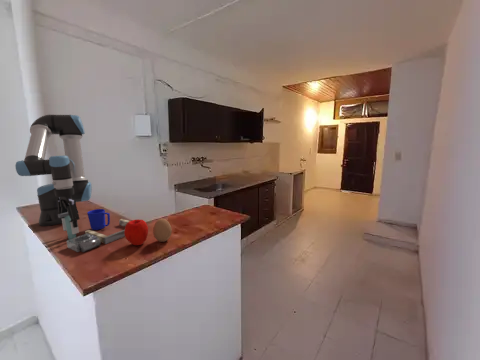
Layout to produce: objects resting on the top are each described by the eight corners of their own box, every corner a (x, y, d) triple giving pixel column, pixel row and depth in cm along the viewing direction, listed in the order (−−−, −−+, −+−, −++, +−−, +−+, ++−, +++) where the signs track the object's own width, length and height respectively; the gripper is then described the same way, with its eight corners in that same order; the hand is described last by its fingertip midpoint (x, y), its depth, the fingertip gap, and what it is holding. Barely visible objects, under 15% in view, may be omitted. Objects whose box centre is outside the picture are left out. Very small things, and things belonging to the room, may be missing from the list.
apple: (125, 251, 101) (122, 224, 98) (126, 242, 110) (123, 217, 107) (149, 246, 104) (147, 221, 102) (149, 238, 113) (146, 214, 111)
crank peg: (61, 240, 114) (57, 214, 111) (79, 234, 121) (75, 209, 118) (64, 241, 112) (60, 215, 110) (82, 235, 119) (78, 210, 116)
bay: (85, 236, 117) (85, 231, 117) (122, 223, 134) (122, 218, 134) (105, 244, 108) (105, 238, 108) (142, 229, 125) (142, 224, 125)
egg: (163, 246, 104) (161, 222, 102) (150, 243, 108) (147, 220, 106) (176, 239, 112) (174, 216, 110) (163, 236, 115) (161, 214, 113)
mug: (105, 232, 123) (102, 214, 121) (86, 230, 125) (83, 213, 123) (116, 226, 130) (114, 209, 129) (98, 225, 133) (95, 208, 131)
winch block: (67, 247, 106) (66, 239, 105) (88, 240, 113) (87, 232, 112) (82, 254, 99) (80, 245, 98) (103, 245, 107) (102, 237, 106)
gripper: (45, 187, 114) (53, 230, 118) (65, 191, 103) (73, 238, 107) (62, 184, 120) (69, 225, 124) (83, 188, 110) (90, 232, 114)
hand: (71, 231), depth 116 cm, fingers open, 8 cm apart
